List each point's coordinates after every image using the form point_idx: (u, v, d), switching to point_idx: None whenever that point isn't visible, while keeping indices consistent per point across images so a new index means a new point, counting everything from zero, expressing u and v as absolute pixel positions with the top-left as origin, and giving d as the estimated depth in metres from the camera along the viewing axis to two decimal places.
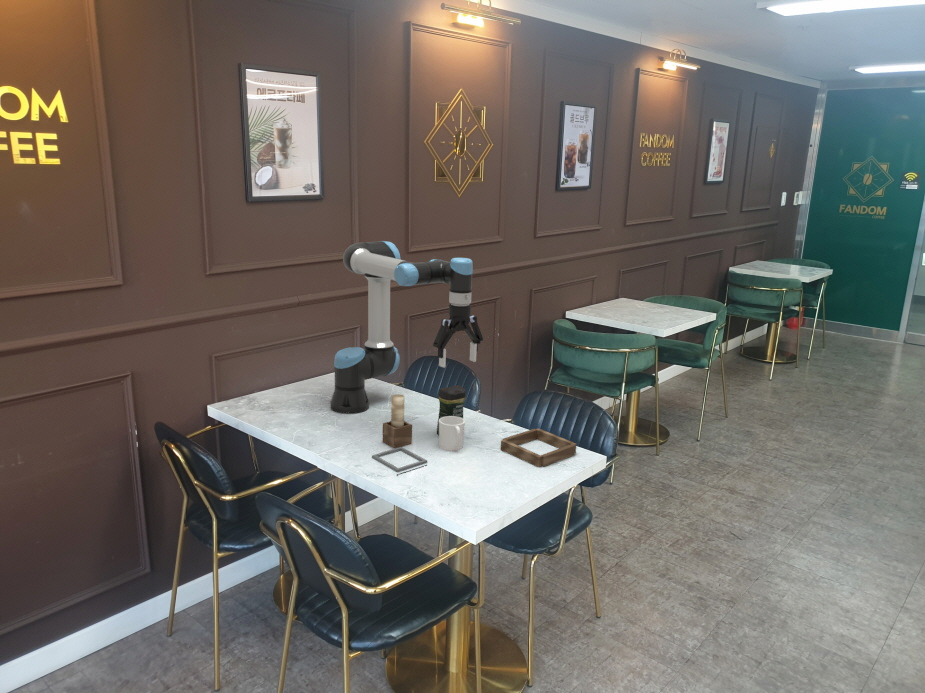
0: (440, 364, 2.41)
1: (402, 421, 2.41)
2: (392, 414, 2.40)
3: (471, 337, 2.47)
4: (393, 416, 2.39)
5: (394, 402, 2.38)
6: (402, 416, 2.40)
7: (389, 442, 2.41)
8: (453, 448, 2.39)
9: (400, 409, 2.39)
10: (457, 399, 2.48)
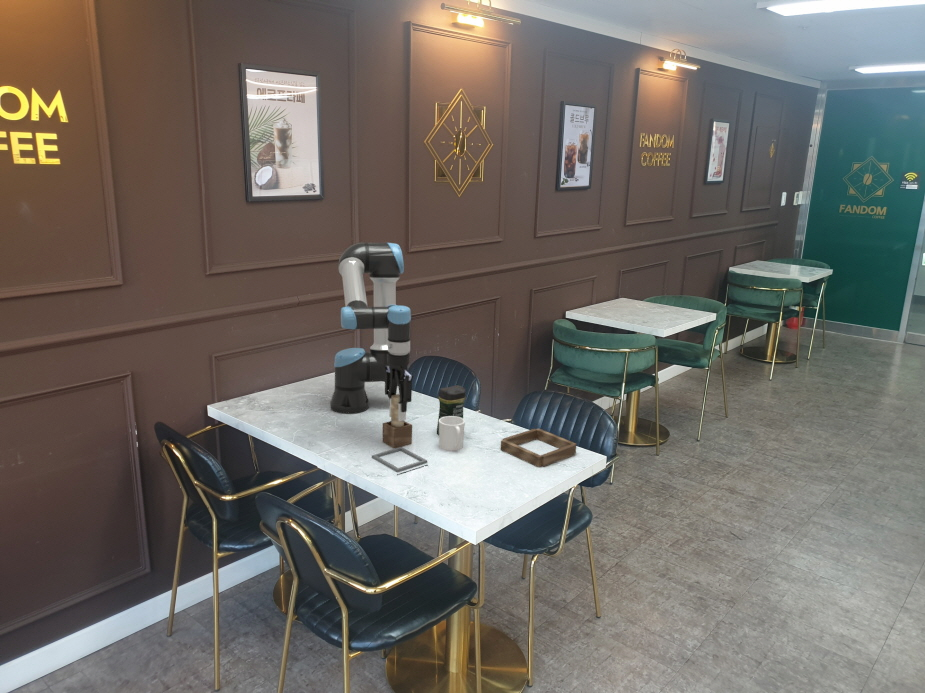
0: None
1: (402, 421, 2.41)
2: (392, 414, 2.40)
3: None
4: (393, 416, 2.39)
5: (394, 402, 2.38)
6: None
7: (389, 442, 2.41)
8: (453, 448, 2.39)
9: None
10: (457, 399, 2.48)
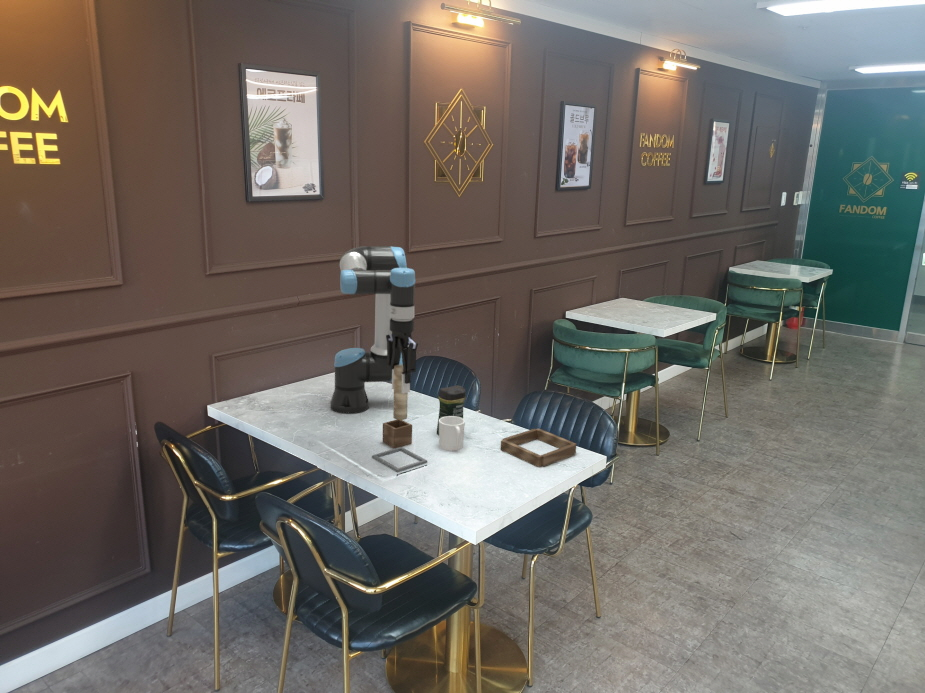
0: None
1: (406, 393, 2.23)
2: (395, 386, 2.22)
3: None
4: (396, 388, 2.22)
5: (397, 372, 2.20)
6: None
7: (389, 442, 2.41)
8: (453, 448, 2.39)
9: None
10: (457, 399, 2.48)
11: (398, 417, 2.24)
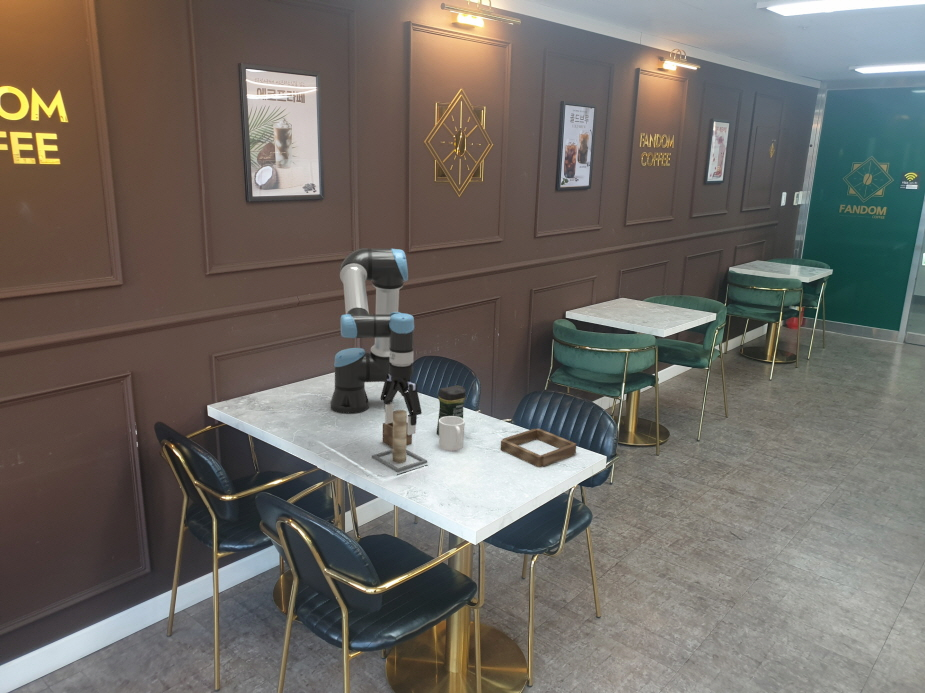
0: None
1: (404, 438, 2.27)
2: (394, 431, 2.26)
3: None
4: (395, 433, 2.26)
5: (396, 418, 2.24)
6: (404, 433, 2.26)
7: (389, 442, 2.41)
8: (453, 448, 2.39)
9: (402, 426, 2.25)
10: (457, 399, 2.48)
11: (397, 461, 2.28)
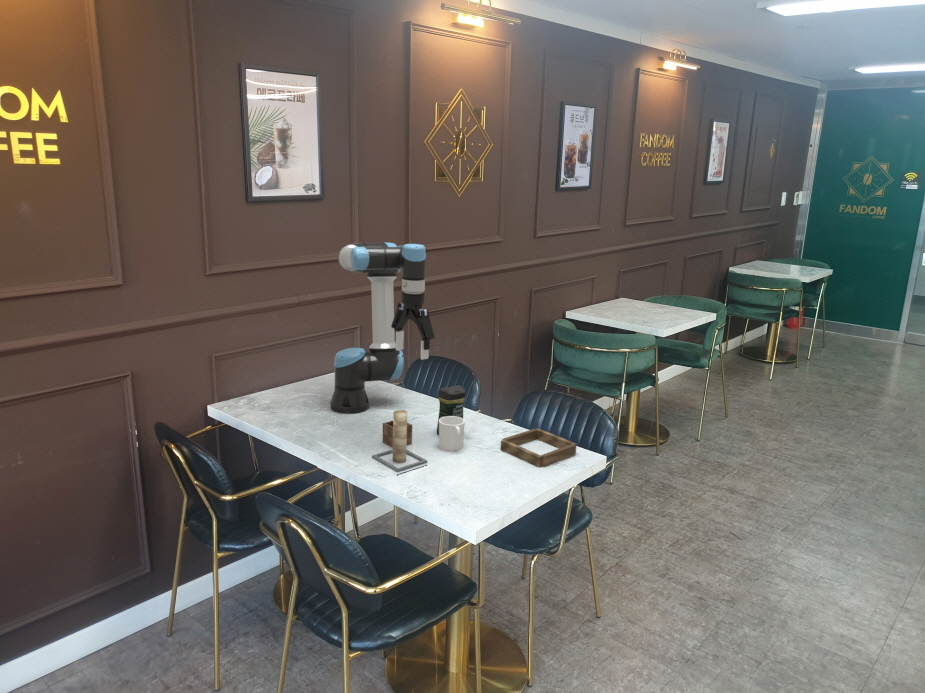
0: None
1: (405, 438, 2.27)
2: (394, 431, 2.26)
3: None
4: (395, 433, 2.26)
5: (396, 418, 2.24)
6: (404, 433, 2.26)
7: (389, 442, 2.41)
8: (453, 448, 2.39)
9: (403, 425, 2.25)
10: (457, 399, 2.48)
11: (397, 461, 2.28)
